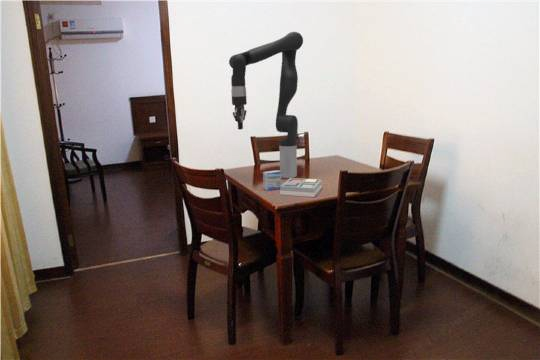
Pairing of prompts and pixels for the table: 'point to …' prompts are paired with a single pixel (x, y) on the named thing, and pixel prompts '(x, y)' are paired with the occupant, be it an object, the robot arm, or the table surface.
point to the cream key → (311, 181)
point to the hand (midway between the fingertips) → (240, 129)
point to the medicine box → (272, 180)
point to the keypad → (301, 188)
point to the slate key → (291, 184)
